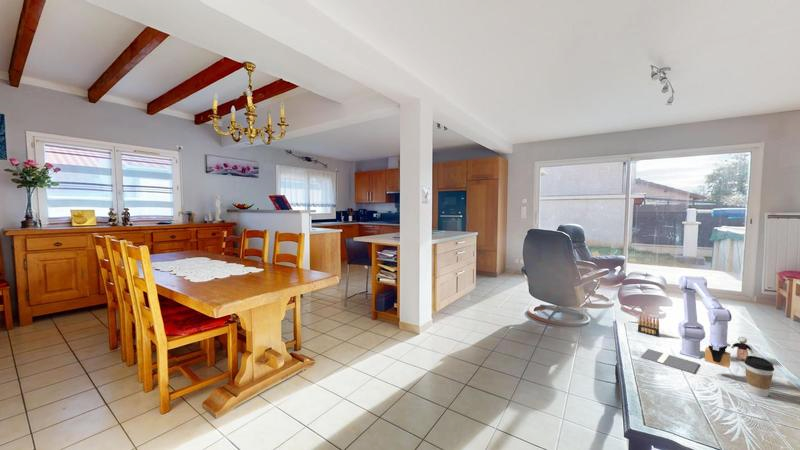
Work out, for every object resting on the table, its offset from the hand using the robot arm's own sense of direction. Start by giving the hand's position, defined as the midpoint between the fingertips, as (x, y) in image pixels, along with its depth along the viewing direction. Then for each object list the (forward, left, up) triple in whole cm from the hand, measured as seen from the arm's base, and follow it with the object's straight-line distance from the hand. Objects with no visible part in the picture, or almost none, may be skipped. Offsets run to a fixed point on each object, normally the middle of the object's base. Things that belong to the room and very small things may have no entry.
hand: (717, 360), depth 144 cm
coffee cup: (+6, +13, -8) cm, 16 cm away
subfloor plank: (0, -17, -8) cm, 19 cm away
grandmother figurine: (-31, +6, -8) cm, 33 cm away
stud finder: (0, 0, -1) cm, 1 cm away
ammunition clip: (-34, -34, -8) cm, 49 cm away
